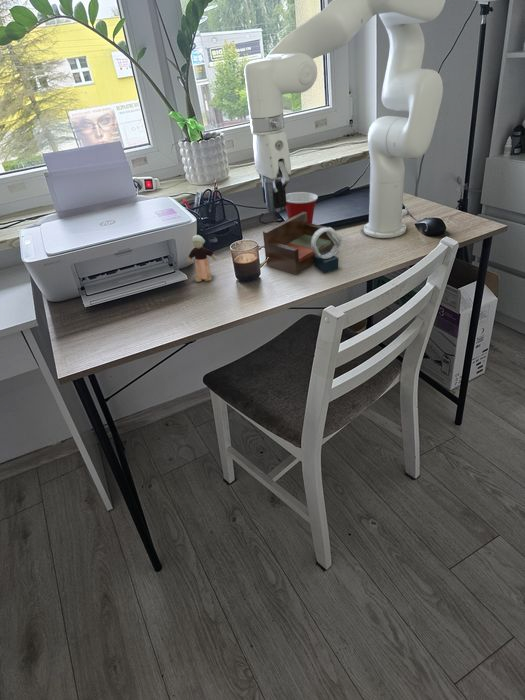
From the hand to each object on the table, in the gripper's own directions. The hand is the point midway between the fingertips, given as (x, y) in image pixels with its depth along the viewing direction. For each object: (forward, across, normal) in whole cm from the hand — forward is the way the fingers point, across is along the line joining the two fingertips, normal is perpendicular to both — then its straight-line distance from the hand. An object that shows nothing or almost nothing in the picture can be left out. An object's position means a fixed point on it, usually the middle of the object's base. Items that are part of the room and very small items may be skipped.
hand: (275, 203), depth 114 cm
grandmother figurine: (+19, +11, +18) cm, 28 cm away
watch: (+19, -5, -11) cm, 23 cm away
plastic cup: (+19, +20, -19) cm, 33 cm away
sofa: (+19, +4, -9) cm, 21 cm away
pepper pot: (+1, 0, 0) cm, 1 cm away
